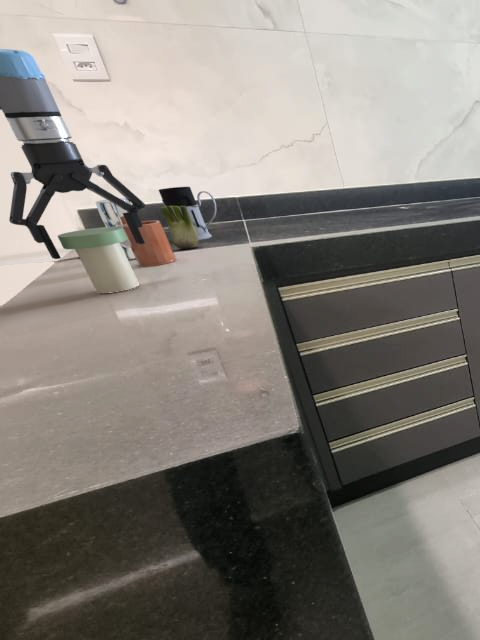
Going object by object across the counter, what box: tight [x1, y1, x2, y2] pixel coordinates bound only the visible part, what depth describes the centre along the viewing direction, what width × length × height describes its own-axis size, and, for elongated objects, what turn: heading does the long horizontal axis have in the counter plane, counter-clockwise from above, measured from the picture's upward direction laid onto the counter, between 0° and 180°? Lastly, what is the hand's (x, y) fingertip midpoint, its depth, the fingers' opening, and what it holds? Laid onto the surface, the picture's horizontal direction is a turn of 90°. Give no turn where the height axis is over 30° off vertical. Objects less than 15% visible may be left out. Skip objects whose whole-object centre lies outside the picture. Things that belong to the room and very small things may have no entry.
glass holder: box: [158, 186, 217, 241], centre depth 161 cm, size 9×14×15 cm, turn 96°
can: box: [74, 243, 140, 294], centre depth 113 cm, size 7×7×10 cm
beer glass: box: [94, 197, 136, 261], centre depth 140 cm, size 7×7×15 cm
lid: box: [57, 226, 128, 250], centre depth 110 cm, size 10×10×2 cm
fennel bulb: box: [160, 206, 199, 250], centre depth 148 cm, size 6×5×12 cm
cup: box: [121, 220, 177, 267], centre depth 134 cm, size 7×7×10 cm
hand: (100, 250), depth 111 cm, fingers open, 13 cm apart
